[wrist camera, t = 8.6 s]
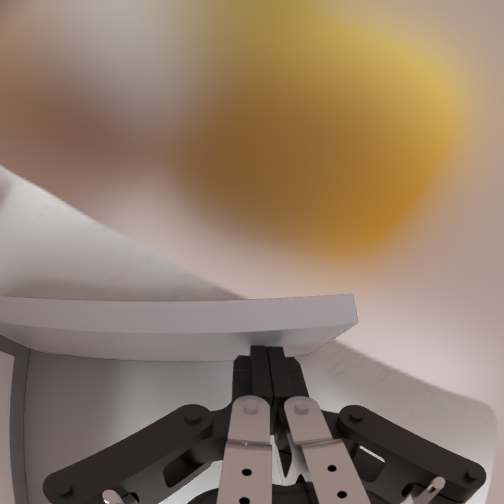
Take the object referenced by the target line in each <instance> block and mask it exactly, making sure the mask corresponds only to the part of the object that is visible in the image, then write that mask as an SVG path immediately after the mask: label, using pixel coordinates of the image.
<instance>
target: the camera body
mask: <svg viewBox="0 0 504 504" xmlns="http://www.w3.org/2000/svg"><path fill="white" fill-rule="evenodd" d="M29 351H30V348H28V347H26V346H24V345H22V344H19V343H17V342H15V341H13V340H11V339H9V338H6V337H4V336H2V335H0V504H28V498H27V490H26V480H25V468H24V447H23V420H24V398H25V385H26V375H27V366H28V358H29Z"/></svg>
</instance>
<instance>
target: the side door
mask: <svg viewBox="0 0 504 504" xmlns="http://www.w3.org/2000/svg"><path fill="white" fill-rule="evenodd" d="M357 323H358V317H357V312H356V307H355V302H354V297H353V294H341V295H327V296H312V297H295V298H276V299H251V300H220V301H92V300H63V299H42V298H24V297H9V296H0V335H2V336H4V337H6V338H9V339H11V340H13V341H15V342H17V343H19V344H22V345H24V346H26V347H28V348H31V349H33V350H35V351H38V352H46V353H54V354H62V355H71V356H80V357H91V358H103V359H118V360H137V361H230V360H235V359H236V358H237V357H238V355H246V356H249V352H250V346H266V347H267V346H282V347H283V349H284V354H285V357H290V356H300V355H308V354H310V353H312V352H313V351H315V350H317V349H318V348H320V347H321V346H323V345H325V344H326V343H328V342H329V341H331V340H333V339H334V338H336V337H337V336H339V335H340V334H342V333H343V332H345V331H346V330H348V329H349V328H351V327H352V326H354V325H355V324H357Z"/></svg>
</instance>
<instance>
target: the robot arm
mask: <svg viewBox="0 0 504 504" xmlns="http://www.w3.org/2000/svg"><path fill="white" fill-rule="evenodd" d="M270 435H274V439H275V453H276V458H277V462H278V467H279V471H280V475H281V480H282V485H276V484H272V446H271V445H270ZM360 446H363V447H364V448H366V449H368V450H369V451H371V452H373V453H375V454H376V455H378V456H380V457H382V458H383V459H384V461H385V462H383V461H381V460H379V459H377V458H376V457H374V456H372V455H370V454H369V453H367V452H365V451H364V450H362V449H360ZM219 460H223V466H222V472H221V479H220V485H219V488H216V489H212V490H209V491H206V492H204V493H202V494H200V495H198V496H197V497H195V498H194V499H192V500H191V501H190V502H188V503H187V504H465V503H466V502H467V501H468V500H469V499H470V498H471V497H472V496H473V494H474V493H475V492H476V491H477V490H478V489H479V488H480V487H481V486H482V485H483V484H484V483H485V480H486V472H485V470H484V468H483V467H482V466H481V465H479V464H478V463H476V462H473V461H471V460H469V459H466V458H464V457H462V456H460V455H457V454H455V453H453V452H451V451H449V450H446V449H444V448H442V447H440V446H438V445H436V444H434V443H432V442H430V441H428V440H425V439H423V438H421V437H419V436H417V435H415V434H413V433H411V432H410V431H408V430H406V429H404V428H402V427H400V426H398V425H396V424H394V423H392V422H390V421H388V420H387V419H385V418H383V417H381V416H379V415H377V414H376V413H374V412H372V411H370V410H368V409H367V408H365V407H362V406H359V405H349V406H346V407H344V408H343V409H342V410H341V411H340V413H333V412H327V411H323V410H321V409H320V407H319V405H318V403H317V402H316V401H315V400H313V399H311V398H309V395H308V391H307V388H306V384H305V380H304V378H303V373H302V370H301V366H300V363H299V362H298V361H297V360H296V359H295V358H294V357H285V354H284V349H283V347H282V346H267V347H266V346H250V352H249V356H246V355H238V357H237V358H236V359H235V360H234V366H233V381H232V401H231V403H230V404H229V405H228V406H227V407H226V408H224V409H221V410H217V411H211V412H210V411H209V410H208V409H207V408H205V407H203V406H201V405H196V404H189V405H184V406H182V407H180V408H178V409H176V410H175V411H173V412H171V413H170V414H168V415H166V416H165V417H163V418H161V419H159V420H158V421H156V422H154V423H152V424H151V425H149V426H147V427H145V428H144V429H142V430H140V431H138V432H136V433H134V434H133V435H131V436H129V437H127V438H125V439H123V440H121V441H120V442H118V443H116V444H114V445H112V446H110V447H108V448H106V449H104V450H102V451H100V452H98V453H96V454H94V455H92V456H90V457H88V458H86V459H83V460H81V461H79V462H77V463H75V464H73V465H70V466H68V467H66V468H64V469H61V470H59V471H57V472H54V473H52V474H50V475H49V476H48V477H47V478H46V479H45V481H44V483H43V492H44V495H45V496H46V498H47V499H48V500H49V501H50V503H51V504H158V503H160V502H161V501H163V500H164V499H166V498H167V497H169V496H170V495H172V494H173V493H175V492H176V491H177V490H179V489H180V488H182V487H183V486H184V485H186V484H187V483H189V482H190V481H191V480H193V479H194V478H195V477H197V476H198V475H199V474H201V473H202V472H203V471H205V470H206V469H207V468H208V467H210V465H211V464H212V462H213V461H219Z"/></svg>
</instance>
